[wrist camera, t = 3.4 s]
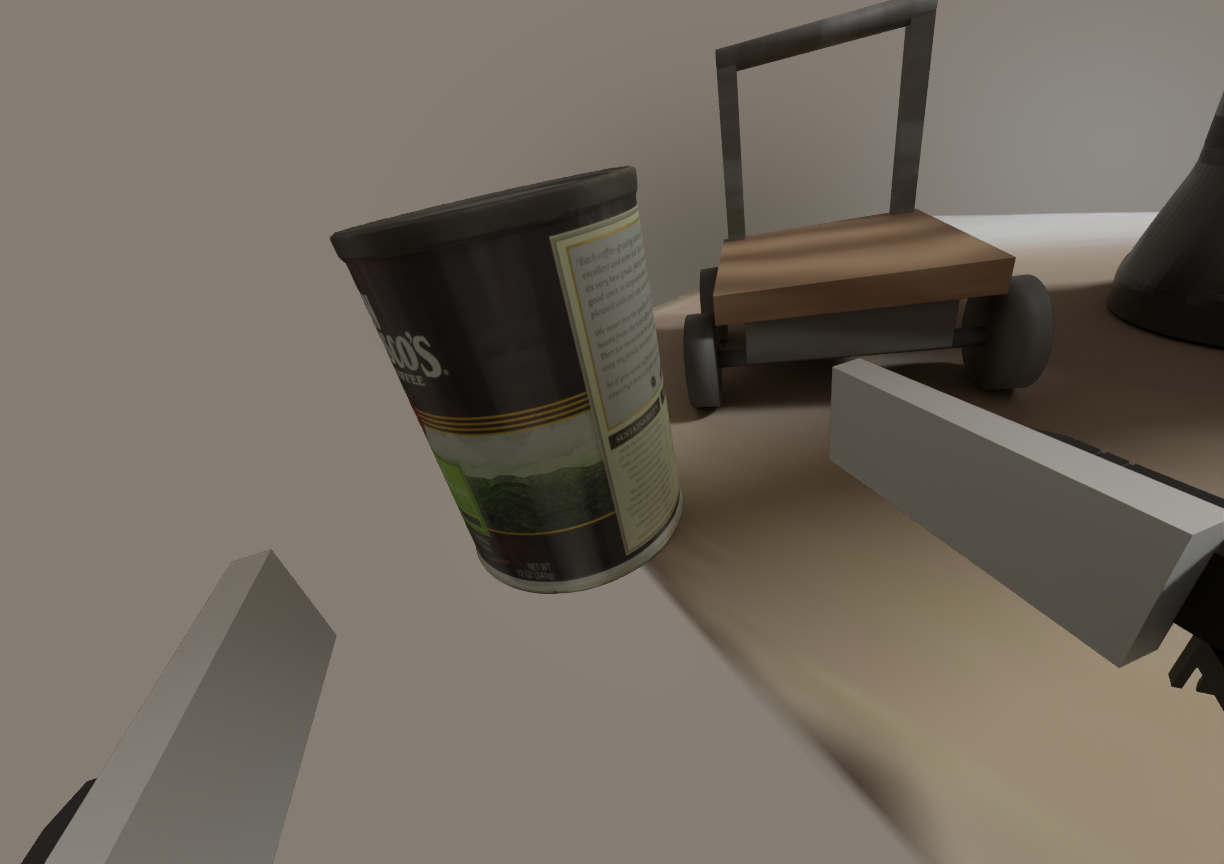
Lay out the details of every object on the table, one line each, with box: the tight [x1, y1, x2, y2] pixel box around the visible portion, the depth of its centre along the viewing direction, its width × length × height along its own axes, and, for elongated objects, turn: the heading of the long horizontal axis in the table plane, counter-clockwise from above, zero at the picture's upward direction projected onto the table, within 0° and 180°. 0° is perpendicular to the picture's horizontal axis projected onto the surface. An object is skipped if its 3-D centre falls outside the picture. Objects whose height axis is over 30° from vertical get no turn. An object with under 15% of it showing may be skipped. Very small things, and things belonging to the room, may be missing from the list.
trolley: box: [684, 0, 1054, 408], centre depth 28 cm, size 17×17×19 cm
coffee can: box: [330, 166, 683, 594], centre depth 20 cm, size 10×10×14 cm
